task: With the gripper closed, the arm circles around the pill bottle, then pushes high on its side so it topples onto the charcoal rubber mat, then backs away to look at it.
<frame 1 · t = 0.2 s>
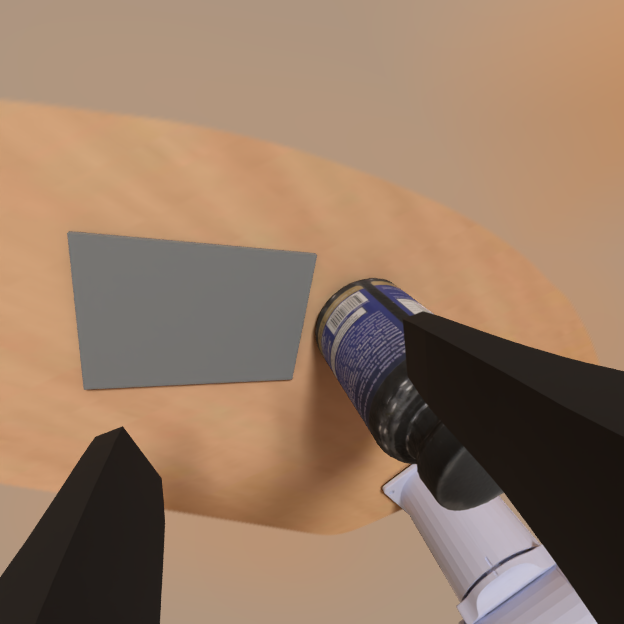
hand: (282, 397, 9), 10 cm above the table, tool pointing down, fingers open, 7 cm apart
pill bottle: (358, 319, 22), on the table
rubber mat: (202, 318, 18), on the table
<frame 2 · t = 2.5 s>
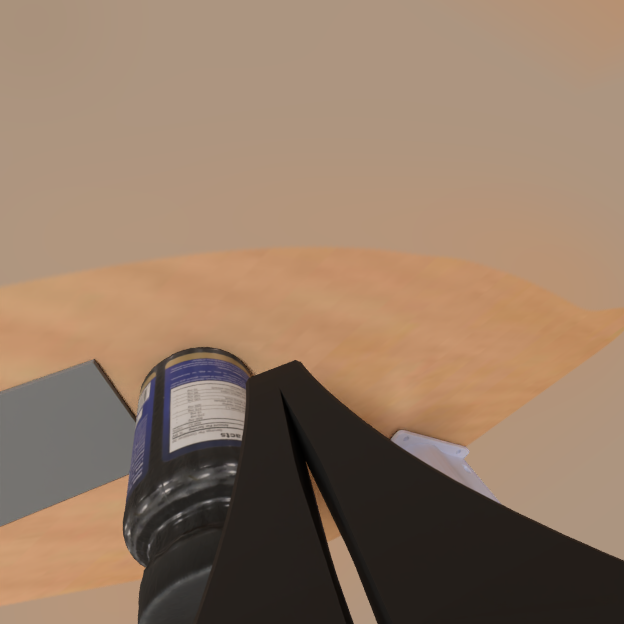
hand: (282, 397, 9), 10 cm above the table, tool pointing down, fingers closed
pill bottle: (198, 385, 21), on the table
rubber mat: (27, 452, 19), on the table
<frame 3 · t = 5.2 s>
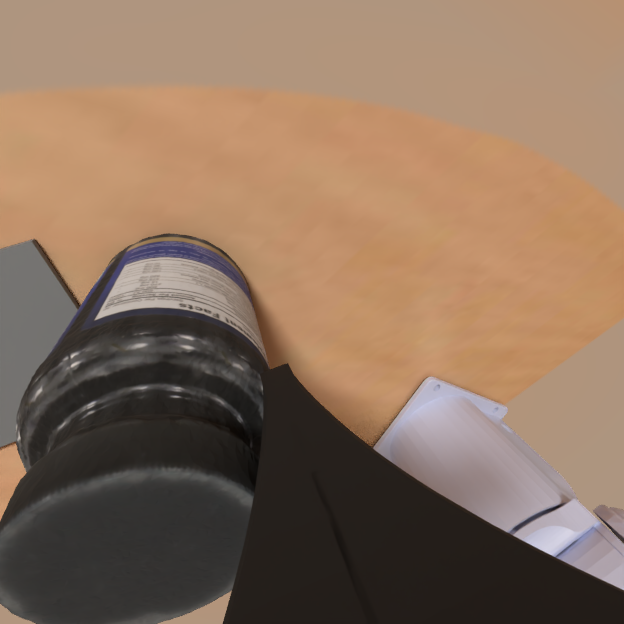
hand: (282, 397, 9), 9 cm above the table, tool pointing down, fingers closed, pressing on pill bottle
pill bottle: (180, 295, 16), on the table, touching gripper
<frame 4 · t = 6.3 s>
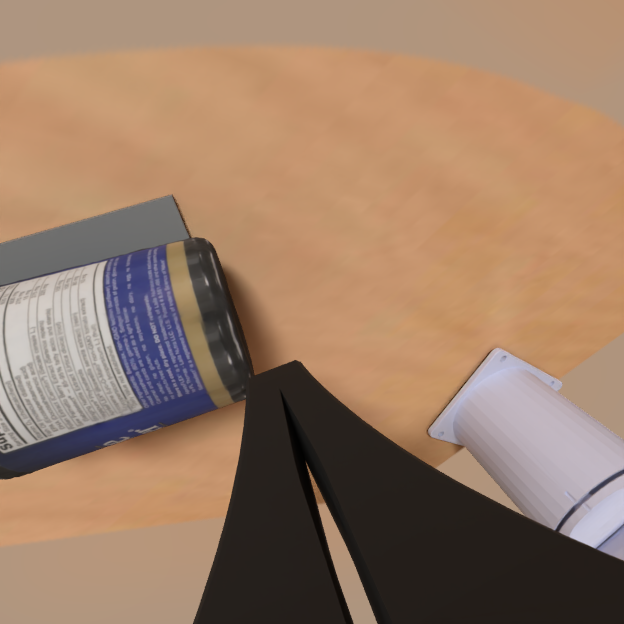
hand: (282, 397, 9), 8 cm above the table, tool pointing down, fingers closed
pill bottle: (241, 312, 13), point 3 cm above the table, touching rubber mat
rubber mat: (81, 326, 15), on the table
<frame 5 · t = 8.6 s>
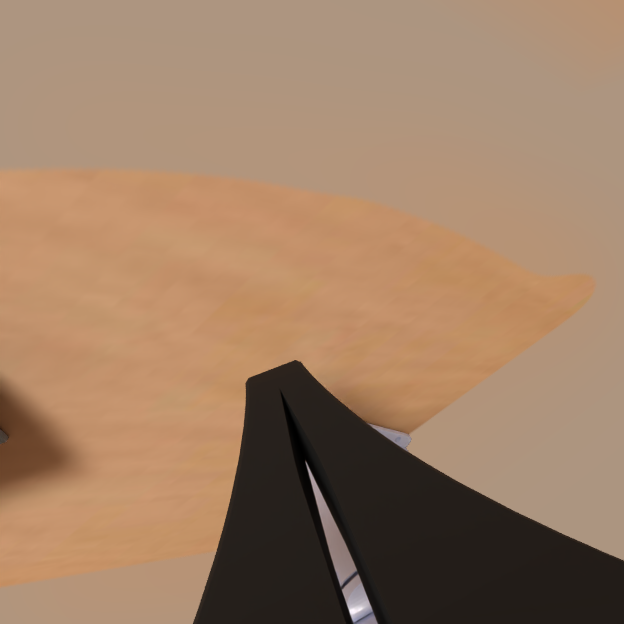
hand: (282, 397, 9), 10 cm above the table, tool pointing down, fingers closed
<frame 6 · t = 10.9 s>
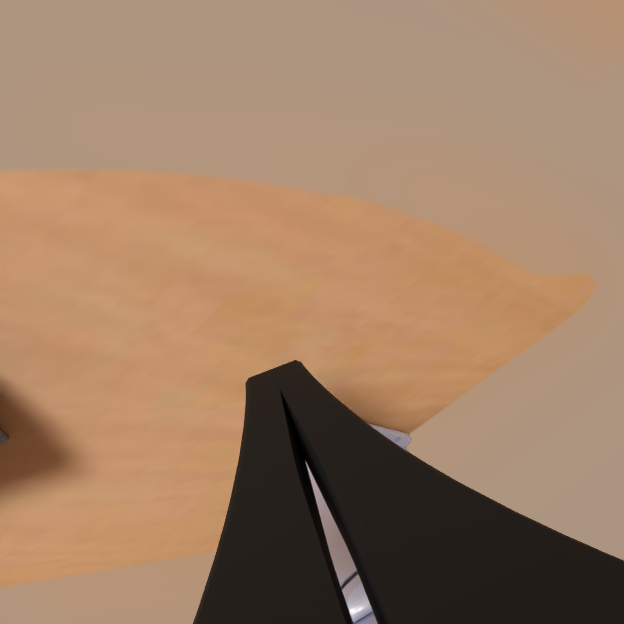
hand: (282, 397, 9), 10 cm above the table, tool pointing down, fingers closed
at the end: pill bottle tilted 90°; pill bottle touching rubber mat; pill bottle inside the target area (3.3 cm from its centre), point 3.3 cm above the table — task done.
